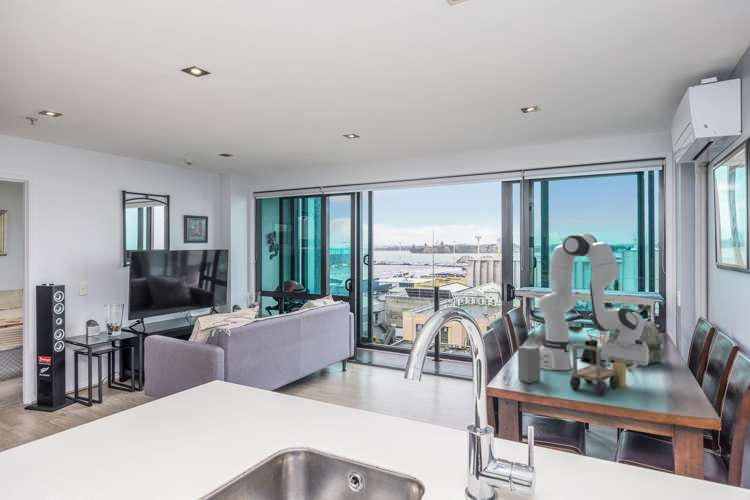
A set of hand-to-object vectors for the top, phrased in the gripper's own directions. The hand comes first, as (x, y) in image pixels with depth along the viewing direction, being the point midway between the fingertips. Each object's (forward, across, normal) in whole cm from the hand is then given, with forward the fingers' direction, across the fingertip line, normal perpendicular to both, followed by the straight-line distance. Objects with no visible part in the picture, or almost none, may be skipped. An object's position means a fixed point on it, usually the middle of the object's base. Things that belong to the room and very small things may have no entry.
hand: (618, 368), depth 202 cm
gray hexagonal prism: (+22, -31, -10) cm, 40 cm away
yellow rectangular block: (+5, 0, +6) cm, 8 cm away
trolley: (+14, -5, -4) cm, 16 cm away
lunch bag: (-30, -10, +41) cm, 52 cm away
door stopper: (-17, -25, +28) cm, 41 cm away
